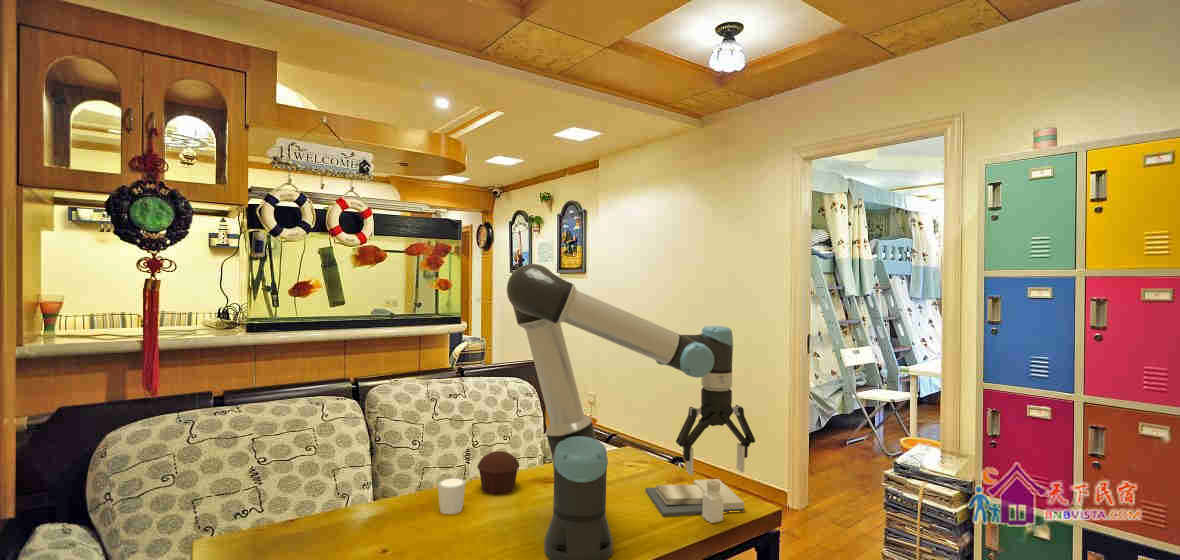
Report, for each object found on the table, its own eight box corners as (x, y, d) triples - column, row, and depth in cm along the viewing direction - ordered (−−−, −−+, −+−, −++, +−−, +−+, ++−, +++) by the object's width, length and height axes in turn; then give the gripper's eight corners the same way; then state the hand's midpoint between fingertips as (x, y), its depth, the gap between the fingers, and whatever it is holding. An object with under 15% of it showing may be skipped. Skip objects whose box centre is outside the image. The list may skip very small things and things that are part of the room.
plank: (666, 504, 141) (666, 498, 141) (655, 490, 150) (656, 485, 150) (709, 504, 143) (709, 498, 143) (696, 490, 152) (697, 484, 152)
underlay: (663, 517, 137) (663, 506, 137) (645, 491, 153) (645, 482, 153) (743, 512, 141) (744, 502, 141) (718, 487, 157) (718, 479, 157)
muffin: (523, 482, 157) (524, 448, 157) (513, 498, 146) (514, 461, 146) (483, 479, 158) (484, 445, 158) (471, 495, 147) (472, 458, 147)
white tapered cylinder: (431, 511, 137) (432, 484, 136) (450, 501, 143) (450, 475, 143) (452, 517, 133) (453, 489, 133) (470, 507, 139) (471, 480, 139)
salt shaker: (714, 515, 139) (715, 478, 139) (723, 522, 135) (725, 484, 135) (701, 517, 137) (702, 480, 137) (710, 524, 134) (711, 486, 133)
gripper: (674, 392, 130) (673, 480, 130) (769, 389, 134) (768, 474, 135) (664, 386, 137) (663, 469, 137) (755, 383, 142) (753, 463, 142)
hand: (715, 472), depth 136 cm, fingers open, 13 cm apart
